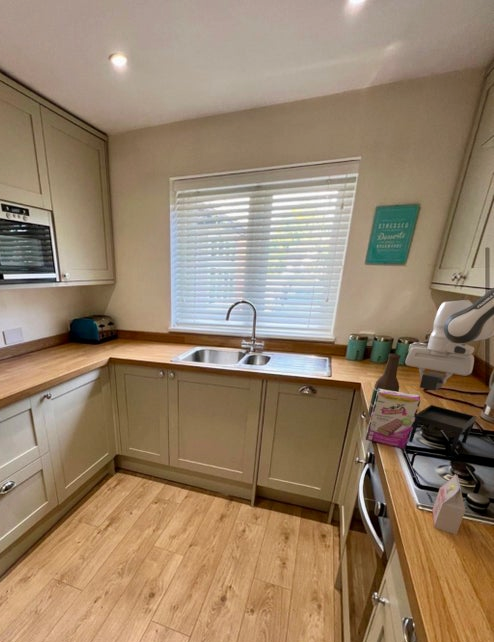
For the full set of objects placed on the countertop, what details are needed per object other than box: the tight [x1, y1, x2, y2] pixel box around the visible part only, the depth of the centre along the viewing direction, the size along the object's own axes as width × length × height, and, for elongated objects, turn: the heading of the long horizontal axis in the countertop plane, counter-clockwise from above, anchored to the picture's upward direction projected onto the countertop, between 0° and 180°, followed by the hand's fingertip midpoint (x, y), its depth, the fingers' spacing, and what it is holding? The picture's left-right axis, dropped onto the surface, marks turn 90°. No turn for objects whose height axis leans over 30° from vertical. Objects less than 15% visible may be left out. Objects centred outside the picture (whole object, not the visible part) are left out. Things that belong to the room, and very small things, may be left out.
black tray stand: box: [408, 404, 477, 456], centre depth 104 cm, size 12×15×9 cm
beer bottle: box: [367, 352, 402, 419], centre depth 119 cm, size 8×8×24 cm
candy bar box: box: [365, 389, 422, 450], centre depth 101 cm, size 11×5×16 cm, turn 59°
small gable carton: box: [432, 473, 466, 535], centre depth 68 cm, size 4×7×10 cm, turn 147°
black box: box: [419, 371, 446, 391], centre depth 125 cm, size 5×8×5 cm, turn 129°
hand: (432, 381), depth 125 cm, fingers closed on black box, 5 cm apart
